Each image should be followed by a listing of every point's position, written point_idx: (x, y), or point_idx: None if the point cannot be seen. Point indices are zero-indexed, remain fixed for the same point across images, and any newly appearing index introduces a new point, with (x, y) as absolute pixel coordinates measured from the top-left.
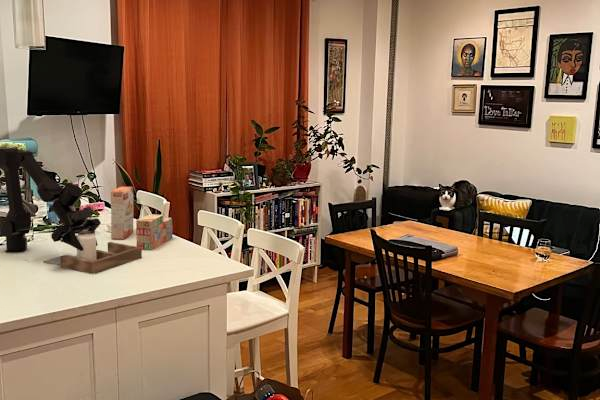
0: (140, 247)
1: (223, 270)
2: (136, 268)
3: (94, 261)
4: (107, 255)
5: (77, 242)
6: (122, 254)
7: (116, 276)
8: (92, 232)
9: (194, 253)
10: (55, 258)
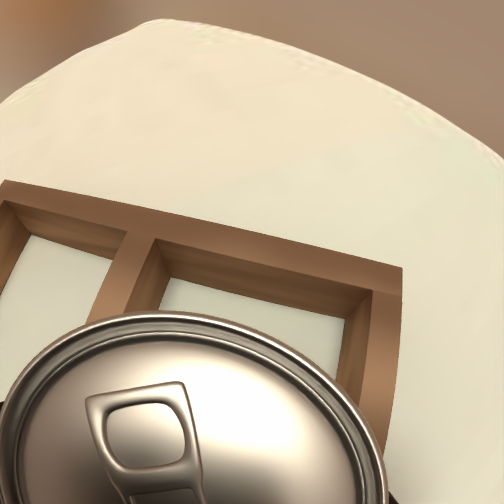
0: (4, 182)
1: (176, 31)
2: (201, 161)
3: (376, 275)
4: (133, 305)
5: (390, 499)
6: (121, 206)
7: (347, 187)
8: (22, 413)
9: (15, 111)
10: None
